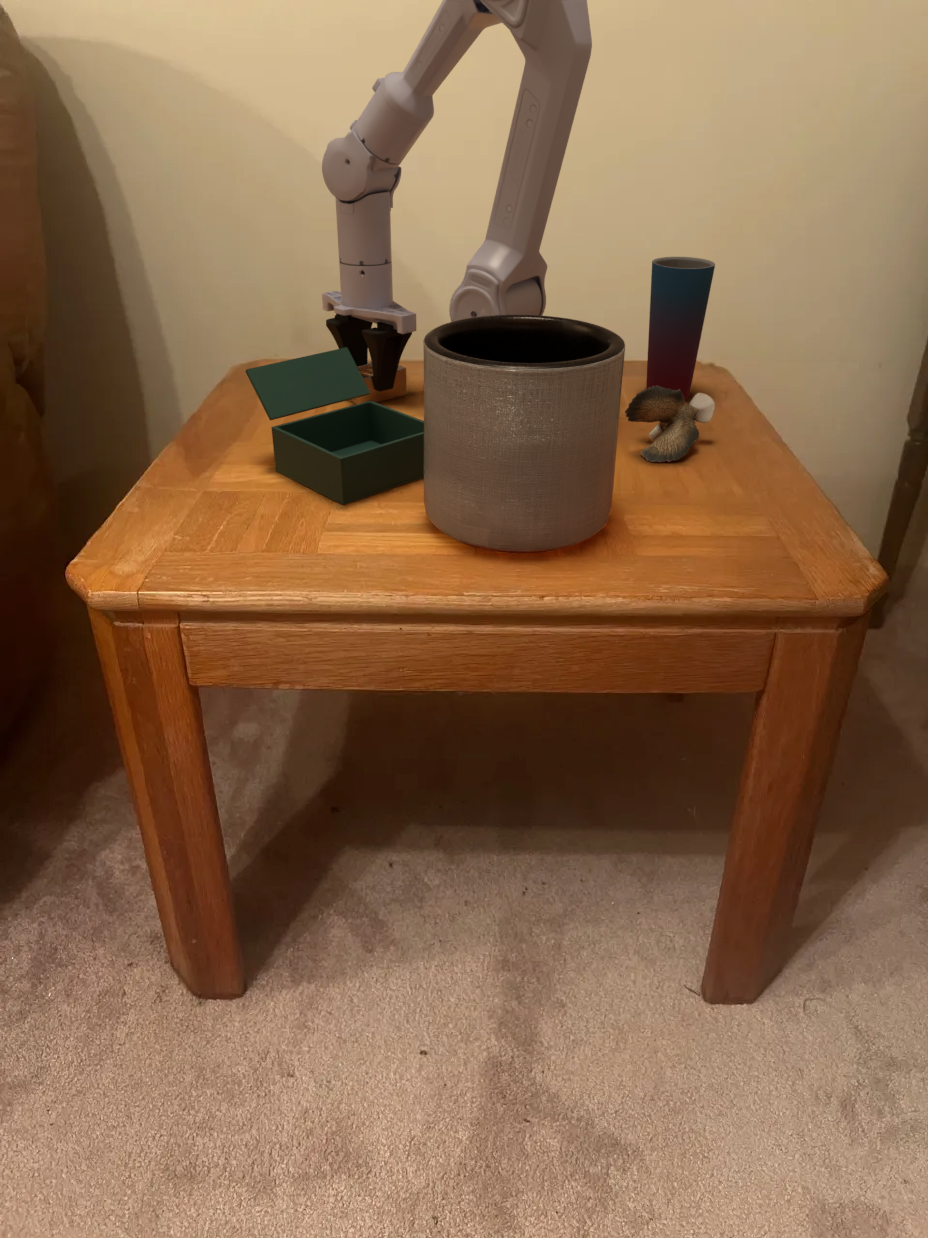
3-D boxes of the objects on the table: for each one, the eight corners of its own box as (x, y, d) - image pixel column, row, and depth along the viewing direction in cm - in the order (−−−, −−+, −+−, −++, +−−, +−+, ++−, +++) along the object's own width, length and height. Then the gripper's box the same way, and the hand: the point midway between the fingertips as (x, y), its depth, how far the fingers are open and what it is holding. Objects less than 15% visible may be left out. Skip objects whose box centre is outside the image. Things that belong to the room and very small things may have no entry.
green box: (275, 470, 91) (271, 426, 88) (372, 441, 97) (370, 400, 95) (343, 505, 84) (340, 458, 82) (442, 471, 91) (442, 427, 88)
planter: (422, 483, 88) (419, 313, 80) (592, 480, 89) (606, 312, 81) (426, 563, 75) (423, 367, 66) (627, 559, 75) (648, 365, 67)
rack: (382, 385, 114) (381, 359, 112) (407, 394, 111) (406, 367, 109) (335, 397, 110) (333, 370, 108) (359, 407, 107) (358, 379, 105)
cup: (701, 405, 108) (721, 268, 101) (642, 404, 109) (657, 267, 101) (690, 387, 114) (708, 256, 107) (634, 386, 114) (647, 256, 107)
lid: (271, 418, 88) (269, 420, 88) (370, 392, 95) (368, 394, 95) (246, 368, 88) (245, 371, 88) (347, 346, 95) (345, 348, 95)
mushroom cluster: (634, 415, 102) (605, 424, 94) (679, 363, 98) (653, 369, 90) (685, 464, 101) (659, 478, 93) (732, 414, 97) (710, 424, 89)
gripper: (296, 255, 105) (306, 376, 112) (378, 276, 96) (383, 406, 103) (347, 248, 109) (353, 365, 116) (430, 267, 100) (431, 393, 107)
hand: (370, 384), depth 110 cm, fingers closed on rack, 4 cm apart
